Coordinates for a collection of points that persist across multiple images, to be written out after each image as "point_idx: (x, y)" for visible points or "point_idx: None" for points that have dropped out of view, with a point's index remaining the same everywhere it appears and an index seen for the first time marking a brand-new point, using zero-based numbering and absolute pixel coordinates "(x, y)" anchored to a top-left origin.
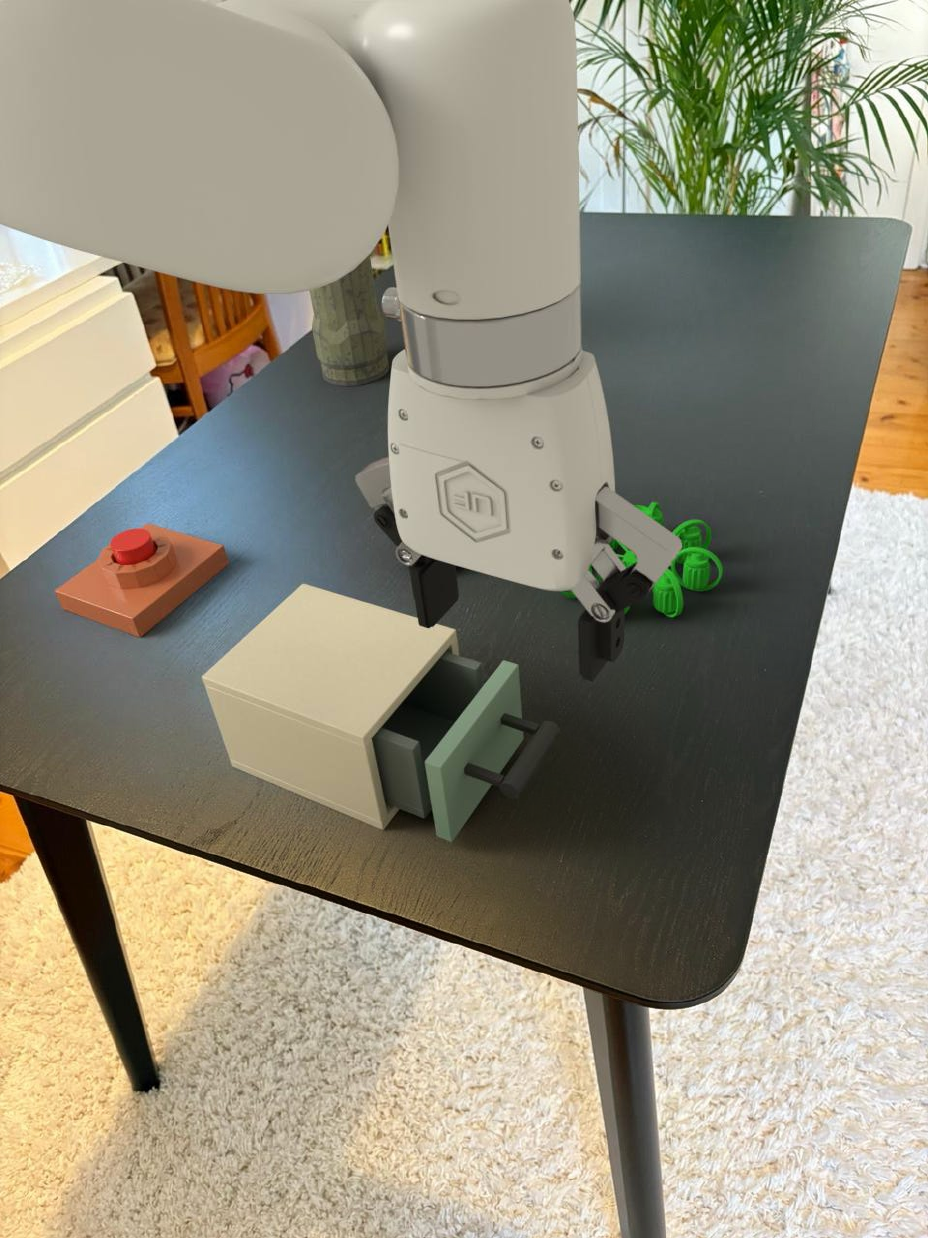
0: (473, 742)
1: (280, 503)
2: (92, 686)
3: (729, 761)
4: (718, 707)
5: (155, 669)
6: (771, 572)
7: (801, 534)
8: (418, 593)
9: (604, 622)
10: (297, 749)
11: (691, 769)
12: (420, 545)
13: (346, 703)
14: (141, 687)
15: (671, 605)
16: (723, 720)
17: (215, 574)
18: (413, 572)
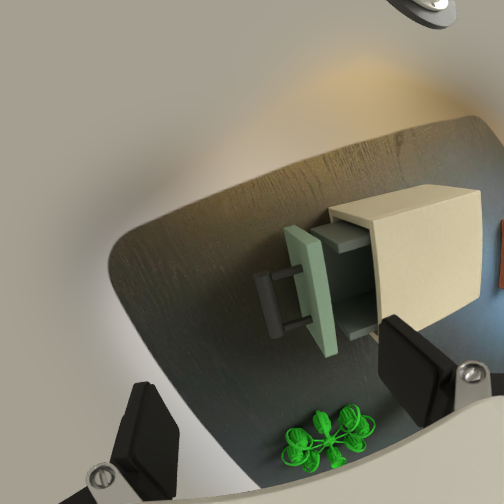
0: (309, 285)
1: (496, 331)
2: (496, 180)
3: (196, 381)
4: (227, 403)
5: (487, 209)
6: (266, 466)
7: (270, 482)
8: (421, 344)
9: (100, 463)
10: (405, 199)
11: (208, 366)
12: (479, 425)
13: (404, 238)
14: (485, 195)
15: (292, 434)
16: (219, 399)
17: (499, 276)
18: (447, 363)
